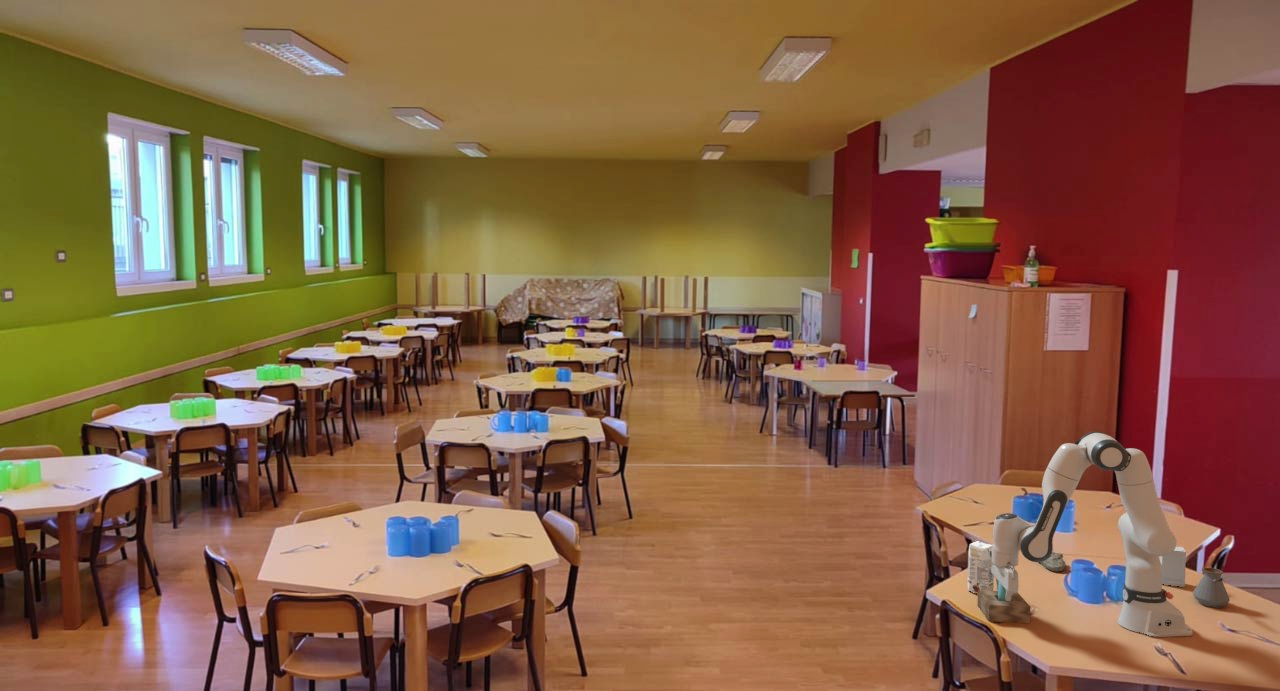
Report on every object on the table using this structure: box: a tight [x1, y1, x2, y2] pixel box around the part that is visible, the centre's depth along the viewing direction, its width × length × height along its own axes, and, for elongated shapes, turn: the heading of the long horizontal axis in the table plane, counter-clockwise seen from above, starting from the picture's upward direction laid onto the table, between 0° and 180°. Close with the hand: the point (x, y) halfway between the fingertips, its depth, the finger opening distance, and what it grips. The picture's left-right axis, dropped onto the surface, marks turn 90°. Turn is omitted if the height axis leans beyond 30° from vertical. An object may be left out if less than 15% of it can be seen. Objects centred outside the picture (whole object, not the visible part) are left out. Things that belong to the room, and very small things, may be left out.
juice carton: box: [967, 540, 995, 595], centre depth 332 cm, size 8×9×19 cm
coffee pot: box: [1192, 567, 1231, 609], centre depth 316 cm, size 21×12×15 cm, turn 156°
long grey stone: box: [1039, 551, 1066, 572], centre depth 370 cm, size 35×5×10 cm
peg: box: [997, 582, 1006, 601], centre depth 311 cm, size 4×4×12 cm
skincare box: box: [1159, 546, 1187, 588], centre depth 340 cm, size 8×6×15 cm
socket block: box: [976, 590, 1031, 624], centre depth 311 cm, size 14×14×6 cm
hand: (1003, 595), depth 311 cm, fingers open, 8 cm apart
